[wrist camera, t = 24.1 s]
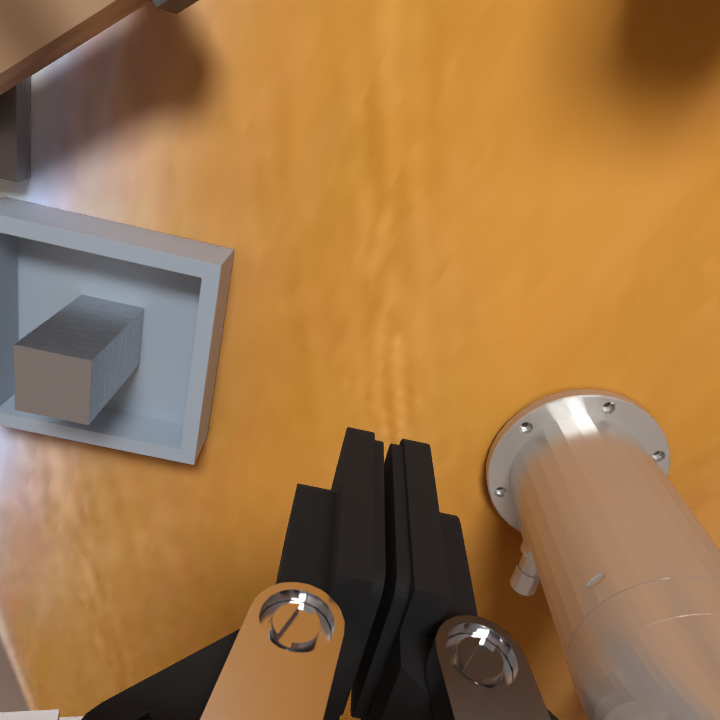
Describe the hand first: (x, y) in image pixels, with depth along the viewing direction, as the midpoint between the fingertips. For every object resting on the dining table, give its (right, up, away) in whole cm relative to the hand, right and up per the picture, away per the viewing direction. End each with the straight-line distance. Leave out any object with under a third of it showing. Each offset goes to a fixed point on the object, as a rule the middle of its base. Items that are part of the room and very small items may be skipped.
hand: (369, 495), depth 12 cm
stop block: (-16, +5, +28) cm, 32 cm away
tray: (-16, +5, +28) cm, 33 cm away
